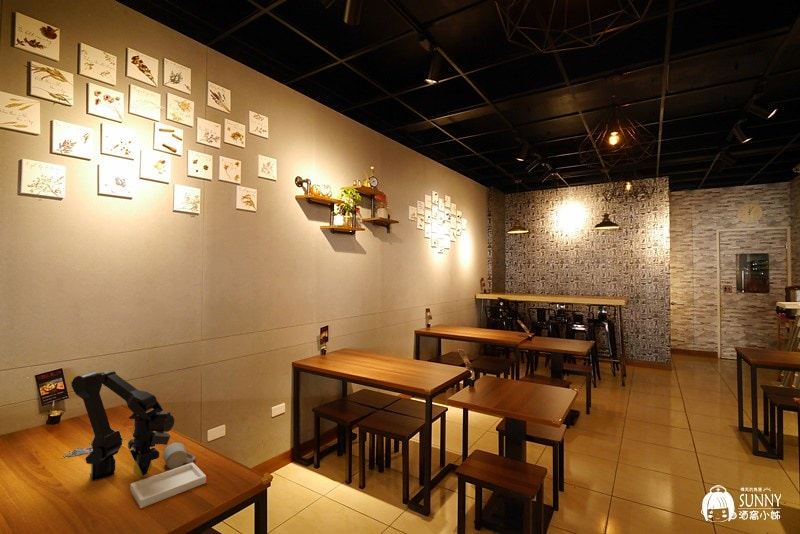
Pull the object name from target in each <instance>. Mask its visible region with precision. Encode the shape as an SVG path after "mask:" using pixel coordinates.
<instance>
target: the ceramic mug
mask: <svg viewBox="0 0 800 534" xmlns="http://www.w3.org/2000/svg"><path fill="white" fill-rule="evenodd" d="M166 446H167V445H166ZM185 447H186V446H185V445H184V444H183V443H182V442H173V443H170V444H169V445H168V446H167V447H165V449H164V451H163V455H162V457H163V461H164V464H165V465H166V467H167V468H168V469H169V470H172V469H175V468H178V467H181V466H184V465H185V463H186V464H189V463H192V462H193V463H194V460H195V459H196V455H194V454H192V453H190V452H187V451H186V448H185Z"/></svg>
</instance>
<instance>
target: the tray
mask: <svg viewBox="0 0 800 534" xmlns="http://www.w3.org/2000/svg"><path fill="white" fill-rule="evenodd" d="M206 483H207V475H206V474H205V472H203V471H202V470H201V469H200V468H199V467H198V466H197V465H196V464H195V463H194V461H193V462H191V463H186V464H183V465H182V466H181V467H178V468H175V469H169V470H167V471H164V472H161V473H158V474H155V475H151V476H148V477H147V478H142V479H139V480H137V481H135V482H131V483H130V493H131V495H132V496H133V498H134V500H135V502H136V503H137V505H138V508H139V509H142V508H146V507H147V506H151V505H152V504H155V503H157V502H160V501H162V500H163V501H164V500H165V499H169V498H171V497H173V496H175V495H178V494H182V493H183V492H186V491H189V490H191V489H194V488H196V487H199V486H201V485H203V484H206Z"/></svg>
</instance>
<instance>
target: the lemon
mask: <svg viewBox="0 0 800 534" xmlns="http://www.w3.org/2000/svg"><path fill="white" fill-rule="evenodd" d="M152 464H153V463H152V461H151V462H150V465H149V468H148V471H147V474H146V475H142V473H141V470H140V468H139V466H138V464H137V462H135V461H134V465H133V473H134V475H135V476H136V477H140V478H142V479H144V477H145V476H147V475H148V474H149V473H150V471H151V470H152Z"/></svg>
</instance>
